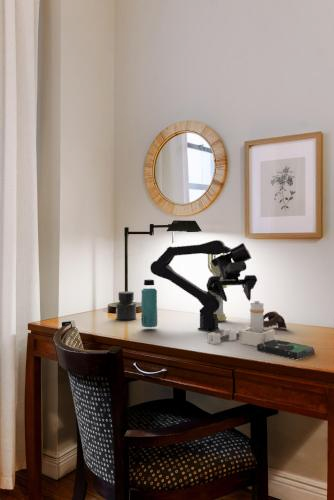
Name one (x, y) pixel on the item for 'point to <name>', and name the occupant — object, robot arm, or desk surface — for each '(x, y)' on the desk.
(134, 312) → the ink bottle
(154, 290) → the beverage bottle
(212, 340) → the cable
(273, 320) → the dark brown curved piece
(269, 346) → the disk drive
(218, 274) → the trophy
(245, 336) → the end holder
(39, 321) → the desk surface
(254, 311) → the white squeeze bottle
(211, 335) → the cable clips
